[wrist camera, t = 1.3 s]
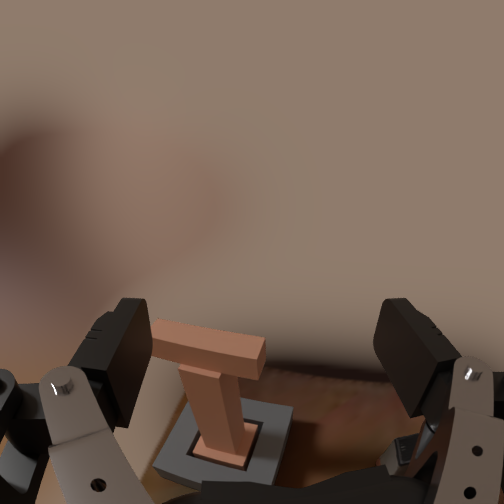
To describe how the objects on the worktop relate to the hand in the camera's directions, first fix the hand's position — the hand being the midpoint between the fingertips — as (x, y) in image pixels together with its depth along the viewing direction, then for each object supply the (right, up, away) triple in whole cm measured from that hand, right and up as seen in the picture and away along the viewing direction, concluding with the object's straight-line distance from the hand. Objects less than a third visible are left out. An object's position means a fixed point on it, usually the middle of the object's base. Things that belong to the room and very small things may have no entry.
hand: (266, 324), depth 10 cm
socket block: (-3, -18, +17) cm, 25 cm away
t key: (-3, -18, +17) cm, 25 cm away
